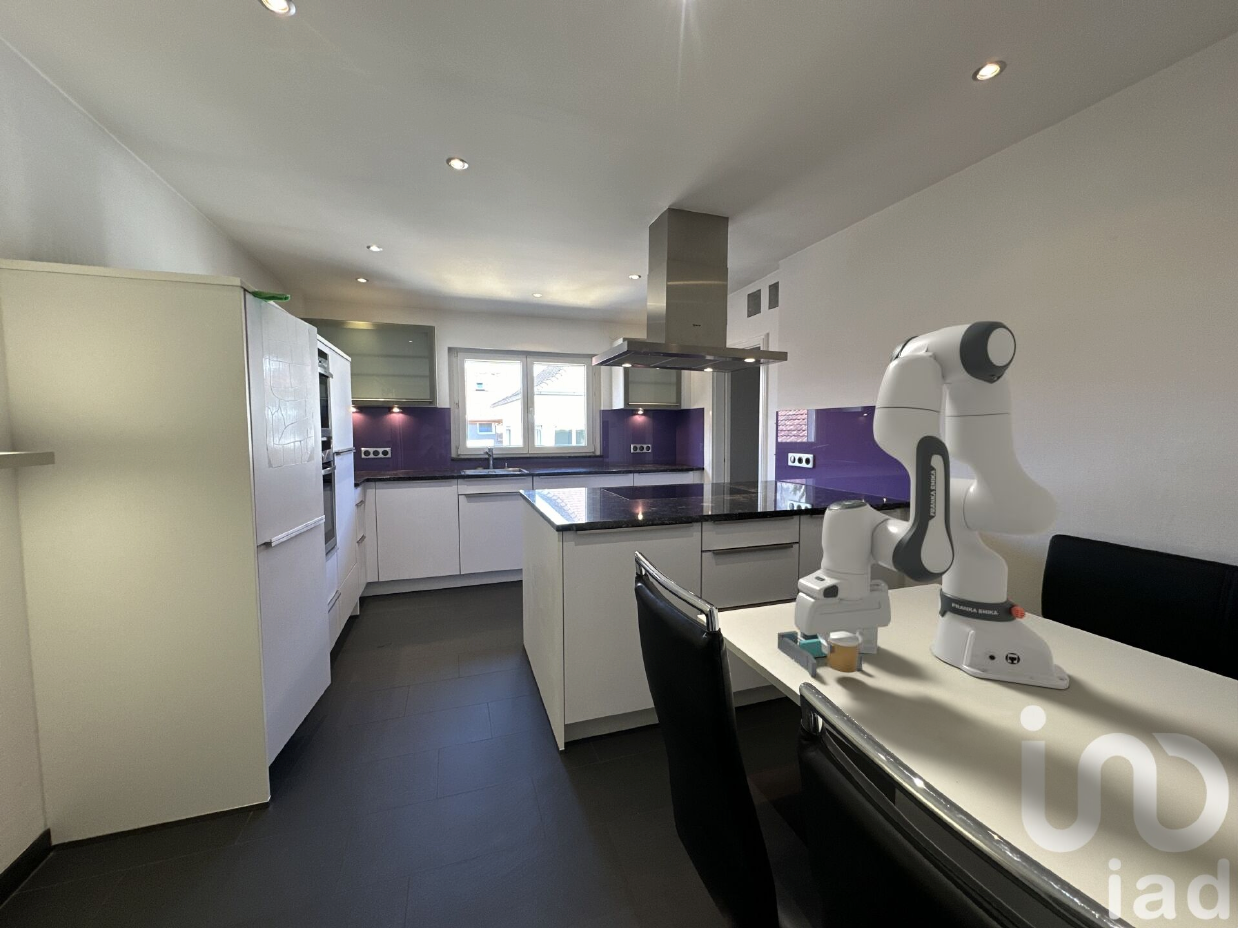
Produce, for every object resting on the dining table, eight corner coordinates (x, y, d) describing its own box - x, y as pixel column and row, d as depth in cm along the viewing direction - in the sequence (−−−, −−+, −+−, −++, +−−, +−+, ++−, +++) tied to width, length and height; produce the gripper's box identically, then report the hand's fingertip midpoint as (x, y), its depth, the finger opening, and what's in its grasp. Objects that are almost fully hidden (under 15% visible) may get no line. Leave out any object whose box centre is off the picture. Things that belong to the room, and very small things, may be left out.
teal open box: (830, 654, 102) (831, 639, 101) (801, 658, 100) (801, 643, 100) (808, 640, 109) (809, 625, 109) (780, 643, 107) (781, 629, 107)
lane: (863, 670, 96) (863, 653, 95) (812, 677, 93) (812, 660, 92) (820, 642, 109) (820, 627, 108) (774, 648, 106) (774, 633, 105)
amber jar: (858, 663, 94) (859, 634, 93) (856, 675, 89) (858, 645, 88) (827, 656, 97) (828, 628, 96) (824, 668, 92) (825, 638, 91)
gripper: (875, 574, 97) (873, 638, 98) (790, 581, 92) (788, 649, 93) (900, 583, 91) (897, 652, 92) (811, 591, 86) (809, 663, 87)
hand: (842, 650), depth 93 cm, fingers closed on amber jar, 5 cm apart
